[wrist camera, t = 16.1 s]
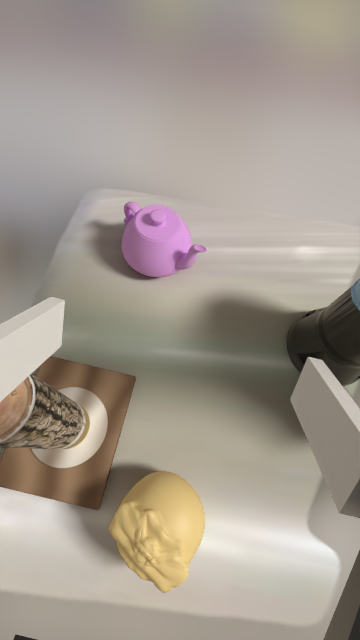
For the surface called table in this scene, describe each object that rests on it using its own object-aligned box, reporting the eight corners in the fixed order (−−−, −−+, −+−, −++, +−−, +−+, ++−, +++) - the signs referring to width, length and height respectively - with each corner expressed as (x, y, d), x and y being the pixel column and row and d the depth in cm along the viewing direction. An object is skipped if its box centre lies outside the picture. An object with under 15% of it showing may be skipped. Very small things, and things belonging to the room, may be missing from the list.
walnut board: (135, 378, 52) (135, 375, 51) (99, 508, 44) (97, 510, 42) (48, 357, 53) (44, 354, 51) (-5, 483, 44) (-12, 484, 42)
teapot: (216, 266, 64) (230, 227, 53) (173, 309, 59) (178, 276, 48) (148, 214, 68) (147, 168, 57) (102, 250, 63) (91, 208, 52)
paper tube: (68, 459, 45) (-18, 467, 22) (36, 430, 46) (-78, 409, 23) (100, 421, 47) (51, 392, 24) (68, 395, 48) (-6, 344, 26)
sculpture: (103, 520, 44) (89, 540, 34) (159, 453, 48) (161, 455, 38) (159, 584, 41) (162, 626, 31) (213, 508, 45) (230, 524, 36)
